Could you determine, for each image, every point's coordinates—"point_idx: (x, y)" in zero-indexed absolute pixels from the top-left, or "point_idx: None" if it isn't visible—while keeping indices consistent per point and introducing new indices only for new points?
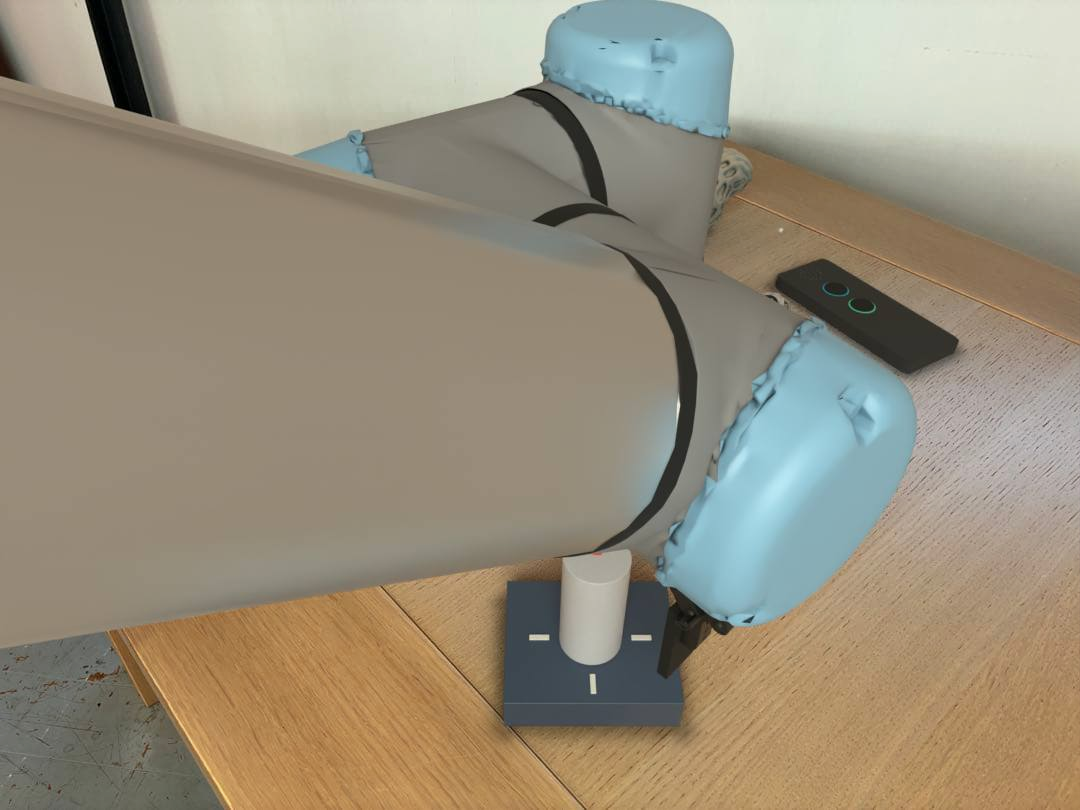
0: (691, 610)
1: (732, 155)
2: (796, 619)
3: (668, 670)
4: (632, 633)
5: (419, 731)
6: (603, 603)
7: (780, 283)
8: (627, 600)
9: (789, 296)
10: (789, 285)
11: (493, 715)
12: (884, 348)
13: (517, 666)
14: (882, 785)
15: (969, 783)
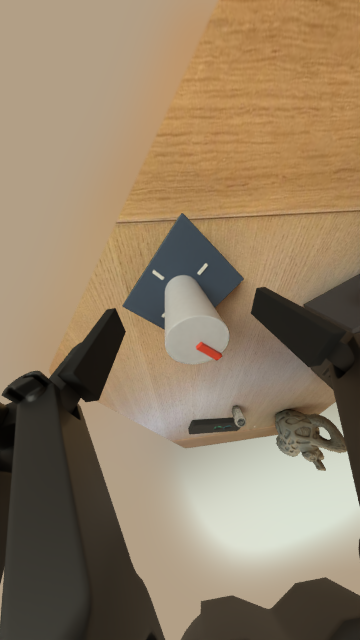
0: (26, 402)
1: (291, 454)
2: (144, 358)
3: (103, 315)
4: None
5: (214, 153)
6: (167, 315)
7: None
8: None
9: None
10: None
11: (189, 215)
12: (202, 424)
13: (197, 242)
14: (70, 339)
15: (61, 359)
